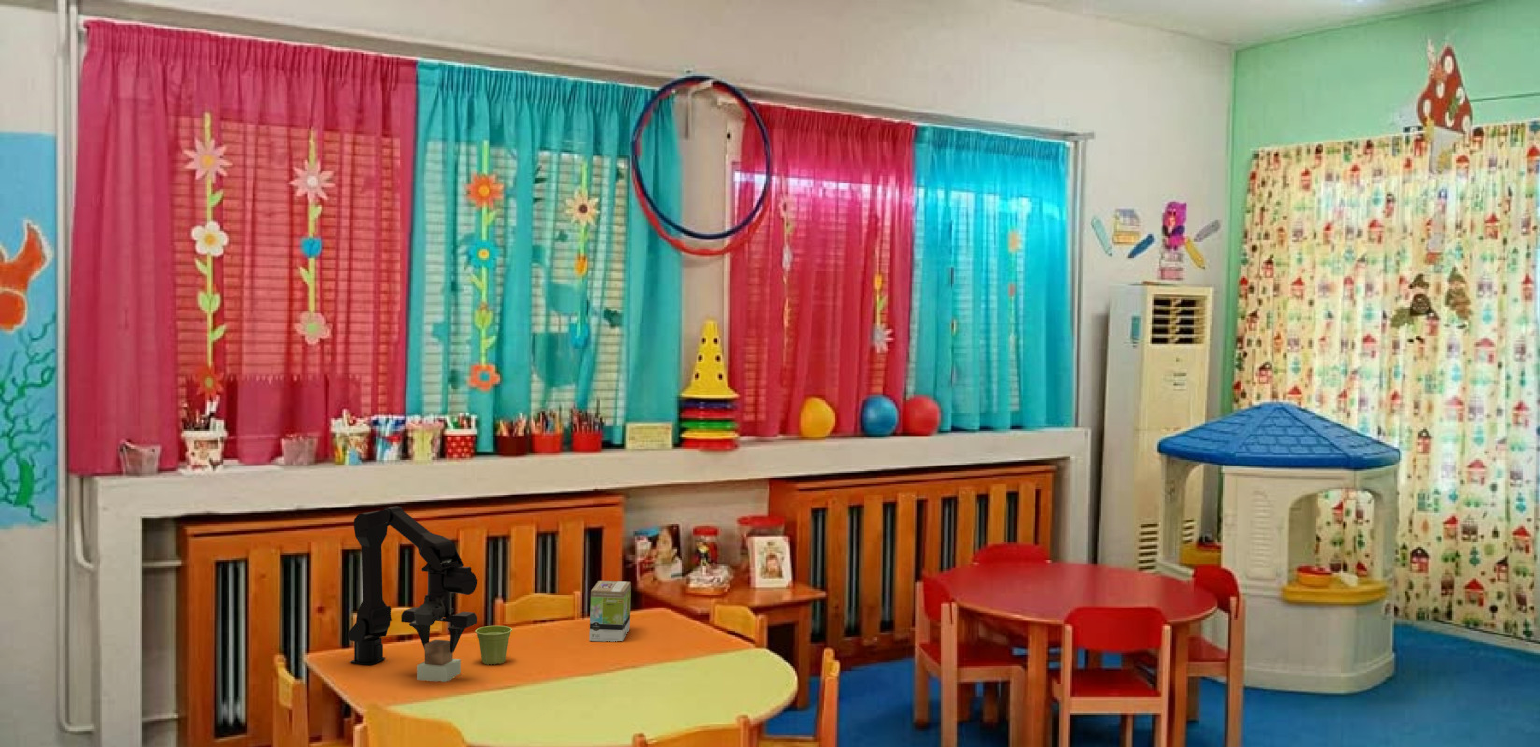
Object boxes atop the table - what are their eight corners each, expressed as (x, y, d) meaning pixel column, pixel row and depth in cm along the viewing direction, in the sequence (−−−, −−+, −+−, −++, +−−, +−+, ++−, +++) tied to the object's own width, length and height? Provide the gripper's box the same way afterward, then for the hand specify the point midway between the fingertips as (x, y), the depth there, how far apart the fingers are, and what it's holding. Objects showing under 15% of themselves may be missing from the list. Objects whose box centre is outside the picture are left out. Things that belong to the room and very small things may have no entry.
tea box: (624, 642, 362) (624, 590, 361) (588, 642, 362) (589, 590, 361) (630, 630, 377) (631, 580, 376) (596, 629, 377) (597, 579, 376)
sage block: (417, 681, 321) (417, 665, 321) (431, 672, 329) (431, 657, 329) (446, 683, 320) (446, 667, 320) (460, 674, 328) (460, 659, 327)
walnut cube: (424, 663, 323) (424, 644, 322) (435, 658, 327) (434, 639, 327) (442, 665, 321) (442, 645, 321) (452, 660, 326) (452, 641, 326)
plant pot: (503, 668, 333) (503, 635, 333) (469, 665, 335) (469, 632, 335) (517, 658, 343) (517, 626, 342) (484, 656, 344) (484, 624, 344)
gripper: (388, 593, 319) (388, 655, 319) (455, 599, 313) (454, 662, 314) (413, 585, 329) (413, 645, 330) (478, 590, 324) (478, 651, 324)
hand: (439, 651), depth 324 cm, fingers open, 7 cm apart
